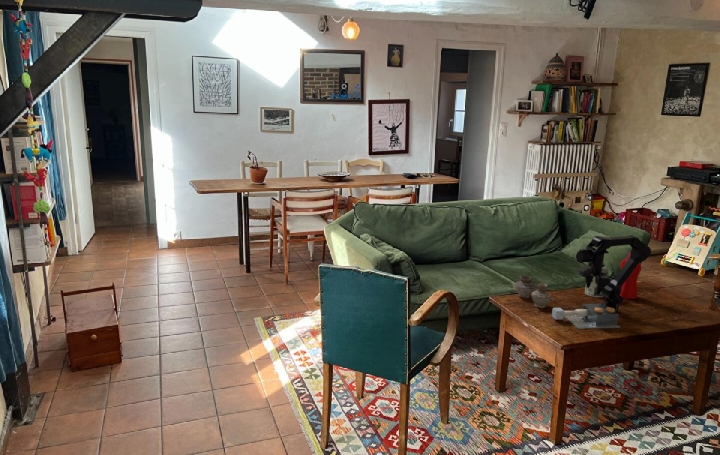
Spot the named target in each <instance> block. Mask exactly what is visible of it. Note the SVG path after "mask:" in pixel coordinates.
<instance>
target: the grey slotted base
mask: <svg viewBox="0 0 720 455" xmlns="http://www.w3.org/2000/svg"><path fill="white" fill-rule="evenodd" d="M607 307H608V306H606V305H605V304H604V303H583V304H582V308H581V309H588V310H589V312H588V316H587V317H576V316H564V317H563V318H565V319H566V320H567V321H569V322H570V323H571V324H572V325H573V326H574V325H575V326H574V327H575V328H577V329H578V330H585V329H586V330H587V329H588V330H589V329H618V328H620V327H621V326H620V325H618V322H619V321H618V320H619V316H620V315H619V314H618V313H616V312H613V313H608V311H606V308H607ZM595 308H602V309H603V312H602V313H598V314H597V313H596V311H594V310H595Z"/></svg>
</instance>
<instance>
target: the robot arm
mask: <svg viewBox="0 0 720 455" xmlns="http://www.w3.org/2000/svg"><path fill="white" fill-rule="evenodd" d="M618 246H619V247H620V246H630V248H631V251H630V252H629V253H630V258H629V260H628V261H627V262H626V263H625V265H624V266H623V267H622V269H621V268H620V270H619V271H618V273H617V274H616V275H615V277H614V278H613V279H611V278H610V277H608V275H607V276H600V275H603V274H604V273H603V272H602V269H604V268H605V266H606V265H605V264H604V260H605V254H609V251H608V250H609V249H610V248H613V247H618ZM651 255H652V248H651V247H650V246H647V244H645V243H644V242H643V241H641V239H640V238H639V237H637V236H635V235H633V234H631V235H625V236H624V235H623V236H614V237H612V236H611V237H608V236H603V235H595V236H593V237H592V239H591V240H590V242H588V244H587V245H586V246H585V248H579V250H578V251H577V253H576V254H575V259H576V261H577V263H579V264H581V263H587V265H584V266H581V267H578V268H577V271H578V275H579V276H581V277H582V278H584V280H585V287H586V286H587V288H589V287H590V285H591V282H592V280H593V277H596V278H595V281H596V282H595V283H596V284H597V290H596V293H597V295H599V294H600V292H601V293H602V295H603V297H602V298H604V301H603V304H605V305H606V306H608V307H611V308H614V309H615V312H616V313H618V314H621V313H620V311H619V308H620V304H622V303H623V301H624V299H623V298H622V297H621V296H620V293H621V289H622V285H623V284H624V282H625V281H626V280H627V278H628V277H629V276H630V275H631V273H632V272H633V271H634V269H635V268H636V267H637V265H638V264H639V263H642V262H644V261H646V260H647V259H649V257H650V256H651Z"/></svg>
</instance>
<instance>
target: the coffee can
mask: <svg viewBox="0 0 720 455" xmlns="http://www.w3.org/2000/svg"><path fill="white" fill-rule="evenodd" d="M602 272H603V273H604V274H603V275H600V276H607V277H608V273H609V271H608V270H606V269H605V268H602ZM595 278H596V277H593V280H592V282H591V285H590V287H589V288H587V286H586V285H585V288H584V289H585V290H584V294H585V295H587V296H589V297H592V298H593V297H594V298H603V295H602V293H601V292H600V294H599V295H597V293H596V290H597V284H596V283H595V282H596V281H595Z"/></svg>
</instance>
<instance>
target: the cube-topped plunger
mask: <svg viewBox="0 0 720 455" xmlns="http://www.w3.org/2000/svg"><path fill="white" fill-rule="evenodd" d="M588 312H589V310H588V309H582V308H581V309H577V308H576V309H574V310H564V309H562V308H561V307H553V308H552V310H551V317H552V318H553V319H555V320H564V318H565V317H564V316H576V317H587V316H588Z"/></svg>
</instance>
